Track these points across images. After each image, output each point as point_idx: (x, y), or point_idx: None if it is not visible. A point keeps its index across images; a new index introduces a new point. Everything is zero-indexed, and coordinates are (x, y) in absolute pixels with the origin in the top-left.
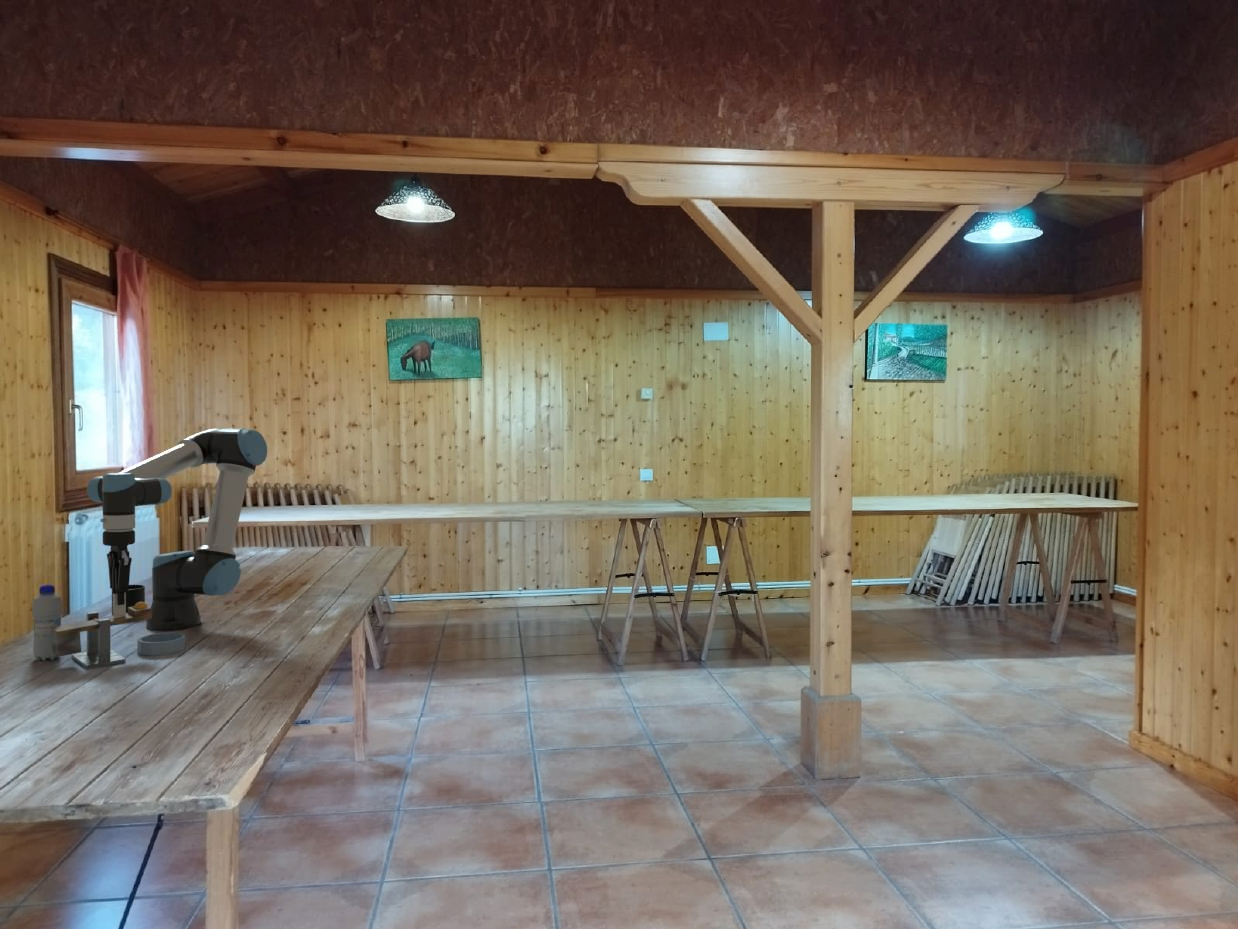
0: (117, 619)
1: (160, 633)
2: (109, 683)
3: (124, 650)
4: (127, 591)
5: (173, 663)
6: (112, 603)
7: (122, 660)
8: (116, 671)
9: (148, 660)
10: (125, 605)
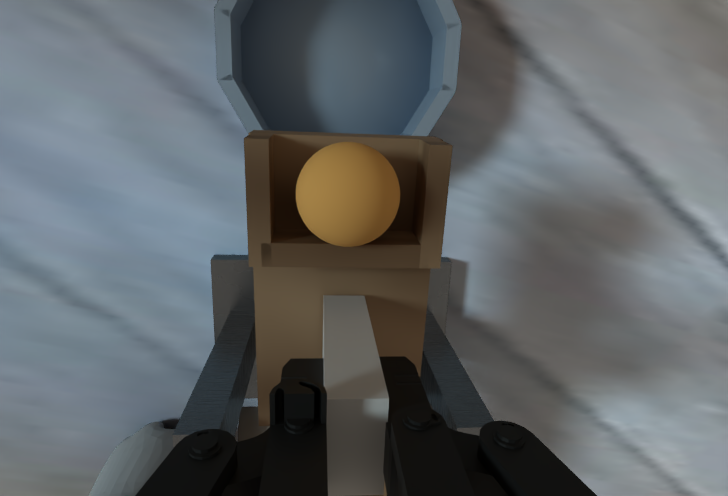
0: (395, 349)
1: (229, 15)
2: (667, 371)
3: (226, 196)
4: None
5: (607, 114)
6: None
7: (448, 272)
8: (543, 316)
9: (480, 176)
10: (371, 331)
